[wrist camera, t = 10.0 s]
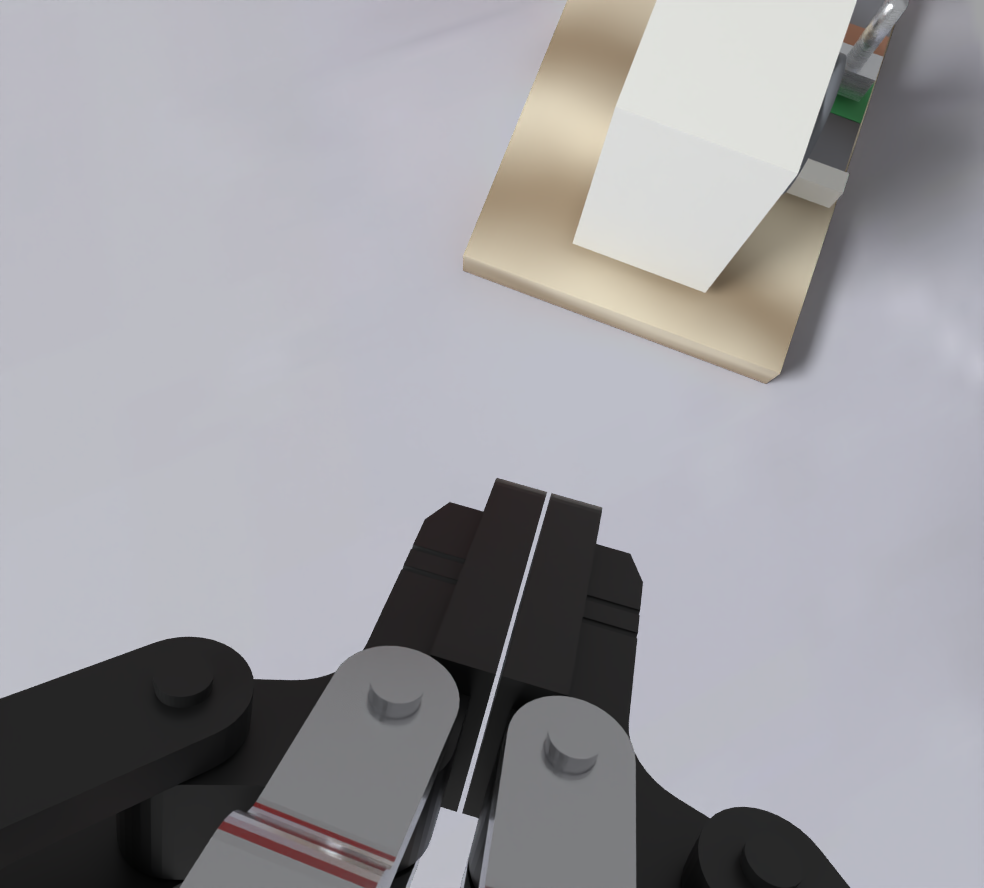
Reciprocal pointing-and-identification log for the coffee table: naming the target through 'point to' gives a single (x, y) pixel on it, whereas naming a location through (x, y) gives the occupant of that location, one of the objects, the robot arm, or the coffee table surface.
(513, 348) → the coffee table surface
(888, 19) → the grey metal lever
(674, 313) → the gauge stand
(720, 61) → the block
